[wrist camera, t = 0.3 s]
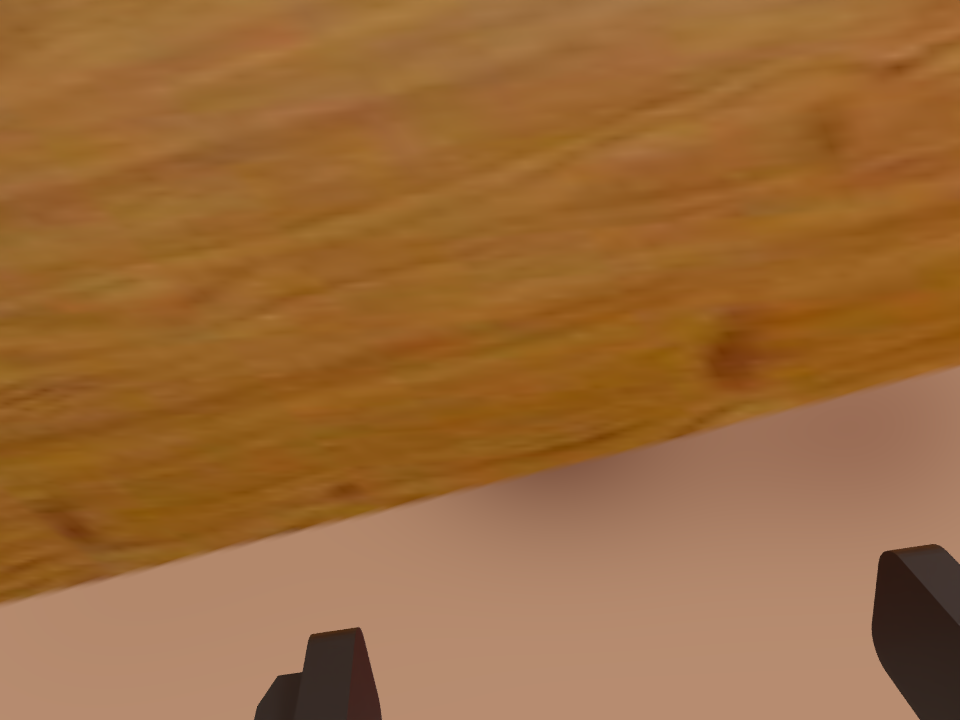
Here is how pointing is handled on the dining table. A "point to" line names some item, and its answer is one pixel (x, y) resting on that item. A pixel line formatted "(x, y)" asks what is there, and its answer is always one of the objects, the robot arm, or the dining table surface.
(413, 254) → the dining table surface
